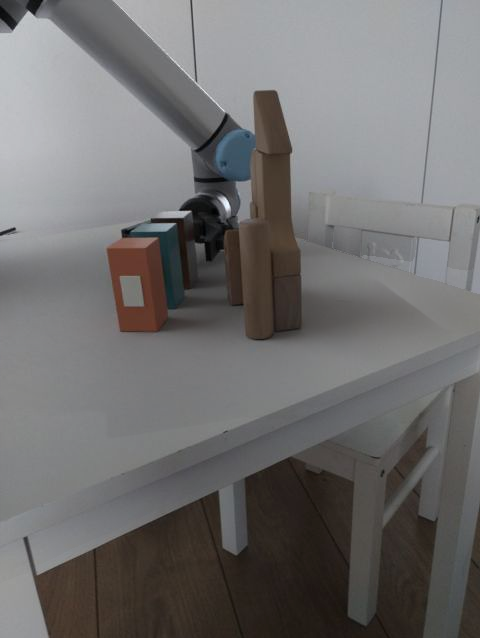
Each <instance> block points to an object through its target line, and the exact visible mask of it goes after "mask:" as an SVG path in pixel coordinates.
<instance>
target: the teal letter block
mask: <svg viewBox="0 0 480 638" xmlns="http://www.w3.org/2000/svg"><path fill="white" fill-rule="evenodd" d="M130 235H131V238H159V245H160V253H161V261H162V269H163V277H164V285H165V293H166V301H167V309H168V310H175V309H177V308H178V306H180V303H181V302H182V301H183V300H184V298H185V289H184V286H183V277H182V268H181V258H180V249H179V240H178V231H177V223H151V224H141V225H140V226H138V227H137V228H135V229H134V230H132V231H131V232H130Z"/></svg>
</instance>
